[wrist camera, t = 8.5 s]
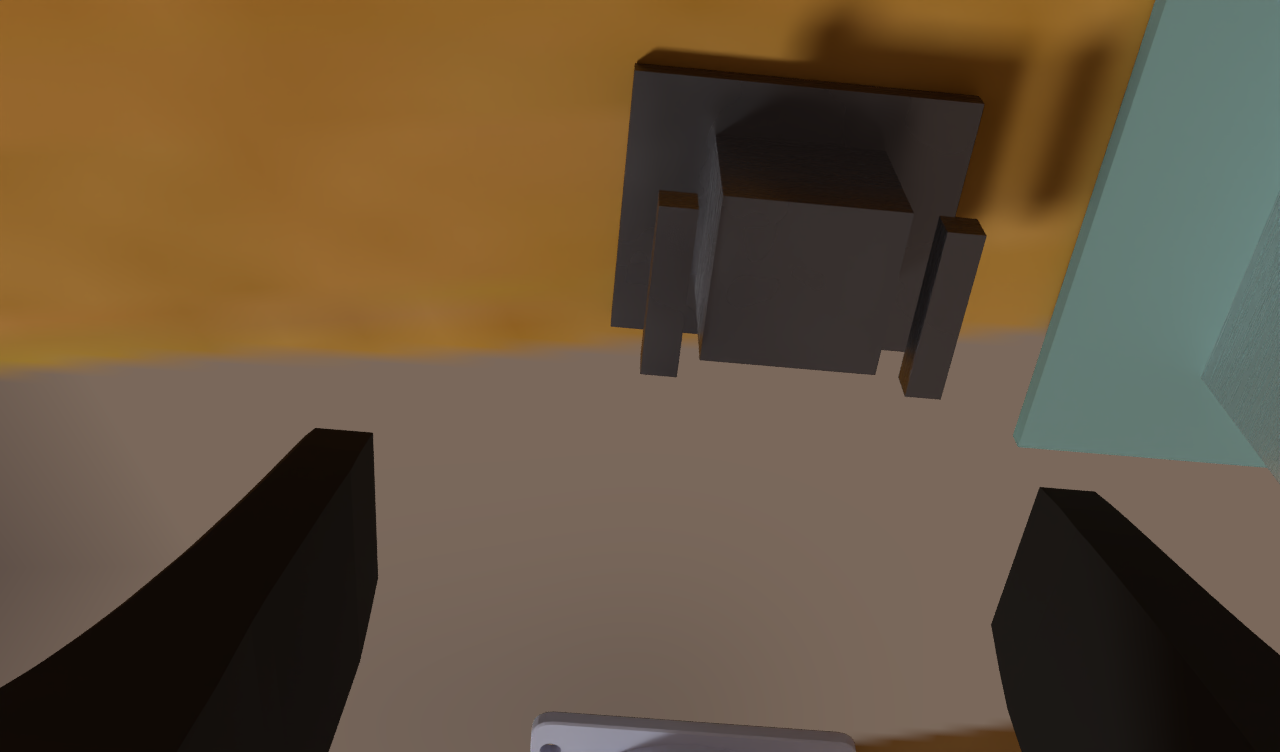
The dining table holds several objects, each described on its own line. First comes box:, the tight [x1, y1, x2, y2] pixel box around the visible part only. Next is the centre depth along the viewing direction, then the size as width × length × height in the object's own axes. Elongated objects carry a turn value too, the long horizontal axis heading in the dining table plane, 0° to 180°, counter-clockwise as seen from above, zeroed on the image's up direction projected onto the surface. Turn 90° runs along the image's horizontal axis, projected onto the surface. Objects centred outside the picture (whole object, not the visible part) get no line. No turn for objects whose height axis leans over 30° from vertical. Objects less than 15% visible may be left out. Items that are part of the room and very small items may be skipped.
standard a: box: [611, 63, 986, 399], centre depth 20 cm, size 5×6×4 cm
